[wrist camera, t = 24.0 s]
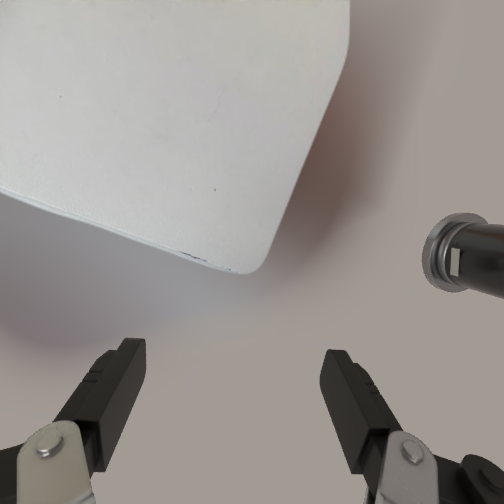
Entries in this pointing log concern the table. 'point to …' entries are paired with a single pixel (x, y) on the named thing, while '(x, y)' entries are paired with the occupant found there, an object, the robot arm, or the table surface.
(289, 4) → the table surface
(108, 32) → the table surface
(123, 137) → the table surface
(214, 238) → the table surface
